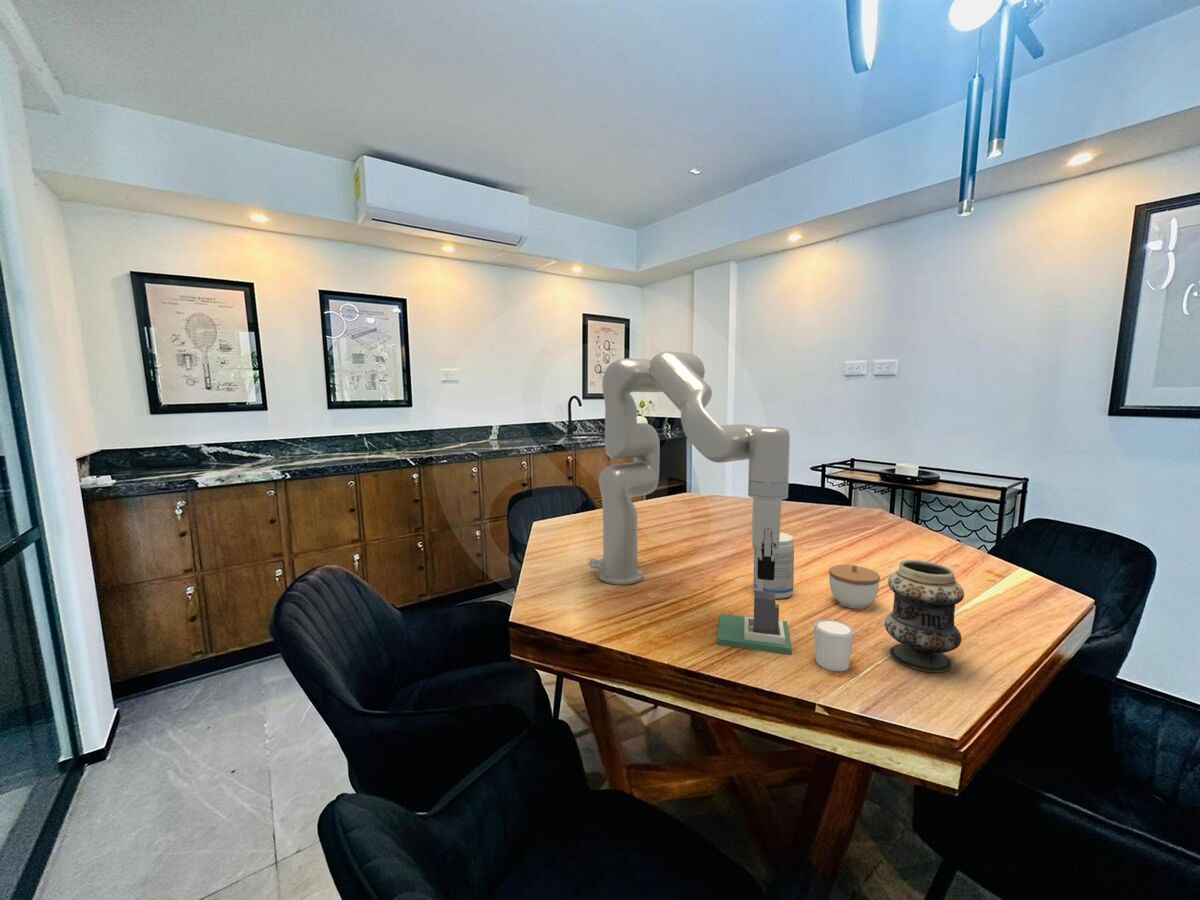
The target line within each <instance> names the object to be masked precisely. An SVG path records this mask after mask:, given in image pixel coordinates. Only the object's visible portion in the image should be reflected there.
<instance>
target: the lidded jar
mask: <svg viewBox="0 0 1200 900" xmlns="http://www.w3.org/2000/svg"><path fill="white" fill-rule="evenodd" d="M828 573H829V575H828V577H829V578H828V579H829V588H830V592H831V593H832V595H833V596H834V598H835V599H836V600H837V601H838V603H839V604H840V605H842V606H843V607H846V608H850V609H854V610H855V609H856V610H862V609H866V608H867V607H868V606H869V605H870V604H872V603H873V602H874V601H875V599H876V598H877V596H878V593H879V586H880V580H881V576H880V574H879V573H878V572H876V571H875V570H873V569H869V568H867V567H864V566H858V565H856V564H855V565H854V564H851V565H850V564H838V565H832V566H831V567H830V568H829V569H828Z"/></svg>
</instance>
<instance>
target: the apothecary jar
mask: <svg viewBox="0 0 1200 900" xmlns="http://www.w3.org/2000/svg"><path fill="white" fill-rule="evenodd" d="M898 567H899V568H898V570H896V571H894V572H893V573H892V574H890V575H889V576H888V579H887V586H888V588H889V589H890V590H891V591H892V592H893V594H894V595H893V607H892V612H890V613H888V614H887V615H886V616H885V618H884V622H883V623H884V628H885V630H886V632H887V633H888V635H890V636H891V637H892V638H893V639H894V641H897V642H898V643H900V644H896V645H894V646H892V647H891V648H890V650H889V655H890V656H891V657H892V658H893V659H894V661H896V662H898V663H899V664H901V665H903V666H906V667H908V668H910V669H913V670H917V671H921V672H926V673H934V674H940V673H947V672H949V671H951V669H953V663H952V661H951V660H950V659H949V658H948V656H946V655H945V653H950V652H952V651H955V649H958V648H959V647H960V645H961V643H962V635H961V632H960V631H959V629H958V628H957V626H955V612H956V610H955V609H956V605H957V604H959V603H961V602H962V601H963V599H964V598H965V592H964V588H963V587H962V586H961V585H960V584H959V582H957V581H956V577H955V572H954V570H953V569H952V568H950V567H948V566H946V565H942V564H939V563H937V562H936V563H935V562H930V561H927V560H920V559H905V560H902V561H900V563H899V566H898Z"/></svg>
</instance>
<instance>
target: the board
mask: <svg viewBox="0 0 1200 900" xmlns="http://www.w3.org/2000/svg"><path fill="white" fill-rule="evenodd" d="M753 625H754V616H744V615H738V614H737V615H735V614H726V613H720V614H719V623H718V631H717V638H716V639H717V641H716V645H717V646H727V647H732V648H740V649H747V650H754V651H761V652H762V651H763V652H771V653H778V654H785V655H793V654H792V653H793V647H792V642H791V636H790V629H789V624H788V621H786V620H780V619H779V628H778V635H772V634H764V633H756V632H753Z"/></svg>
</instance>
